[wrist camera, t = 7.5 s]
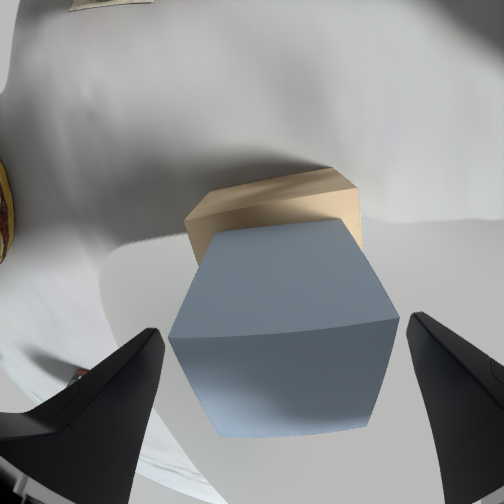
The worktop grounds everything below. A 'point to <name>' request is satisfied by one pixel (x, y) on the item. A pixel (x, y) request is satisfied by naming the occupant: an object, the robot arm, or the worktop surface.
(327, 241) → the blue block
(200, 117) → the worktop surface
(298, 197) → the tan block
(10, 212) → the food
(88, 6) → the condiment
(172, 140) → the worktop surface
